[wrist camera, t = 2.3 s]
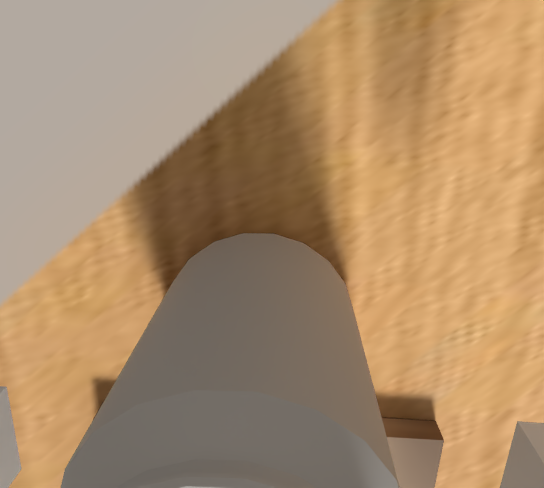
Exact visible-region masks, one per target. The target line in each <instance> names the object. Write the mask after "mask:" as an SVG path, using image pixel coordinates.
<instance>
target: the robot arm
mask: <svg viewBox="0 0 544 488" xmlns="http://www.w3.org/2000/svg"><path fill="white" fill-rule="evenodd" d="M20 470H21V464H20V458H19V453H18V447H17V442H16V436H15V431H14V425H13V420H12V414H11V409H10V403H9V398H8V392H7V387H2V386H0V488H8V487H9V486H10V484H11V483H12V482H13V480H14V479H15V477H16V476H17V474H18V473H19V472H20ZM500 488H544V423H534V422H519V421H517V425H516V429H515V432H514V436H513V440H512V444H511V448H510V451H509V455H508V459H507V463H506V466H505V470H504V474H503V478H502V482H501V485H500Z"/></svg>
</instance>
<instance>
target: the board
mask: <svg viewBox="0 0 544 488" xmlns="http://www.w3.org/2000/svg"><path fill="white" fill-rule="evenodd" d="M102 404H103V403H102ZM101 406H102V405H101ZM98 411H99V410H98ZM97 413H98V412H97ZM94 418H95V417H94ZM93 420H94V419H93ZM382 421H383V425H384V429H385V432H386V436H387V440H388V444H389V448H390V451H391V455H392V459H393V463H394V467H395V470H396V474H397V478H398V482H399V486H400V488H434V487H435V482H436V477H437V472H438V467H439V462H440V457H441V452H442V447H443V442H444V440H443V437H442V435H441V432H440V430H439V428H438V425H437V423H436V421H427V420H410V419H393V418H382Z"/></svg>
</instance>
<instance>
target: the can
mask: <svg viewBox="0 0 544 488" xmlns="http://www.w3.org/2000/svg"><path fill="white" fill-rule="evenodd" d="M61 488H400V486H399V482H398V478H397V474H396V470H395V467H394V463H393V459H392V455H391V451H390V448H389V444H388V440H387V436H386V432H385V429H384V425H383V421H382V417H381V413H380V410H379V406H378V402H377V398H376V394H375V391H374V387H373V383H372V379H371V375H370V371H369V368H368V364H367V360H366V356H365V352H364V349H363V345H362V341H361V337H360V333H359V330H358V326H357V322H356V318H355V314H354V311H353V307H352V304H351V300H350V297H349V294H348V290H347V287H346V284H345V283H344V281H343V280H342V278H341V277H340V276H339V274H338V273H337V272H336V270H335V269H334V267H333V266H332V265H331V263H330V262H329V261H328V260H327V259H325V258H324V257H323V256H321V255H320V254H318V253H317V252H316V251H314V250H313V249H311V248H310V247H309V246H307V245H306V244H304V243H302V242H299V241H295V240H292V239H289V238H286V237H283V236H280V235H277V234H264V233H242V234H239V235H235V236H232V237H228V238H225V239H222V240H218V241H215V242H213V243H211V244H210V245H208V246H207V247H206V248H204V249H203V250H201V251H200V252H198V253H197V254H195V255H194V256H193V257H191V258H190V259H189V260H188V261H187V263H186V264H185V266H184V267H183V268H182V270H181V271H180V272H179V274H178V275H177V277H176V278H175V279H174V281H173V282H172V284H171V286H170V288H169V289H168V291H167V293H166V295H165V296H164V298H163V300H162V302H161V303H160V305H159V307H158V309H157V310H156V312H155V314H154V315H153V317H152V319H151V321H150V322H149V324H148V326H147V328H146V329H145V331H144V333H143V335H142V336H141V338H140V340H139V342H138V343H137V345H136V347H135V348H134V350H133V352H132V354H131V355H130V357H129V359H128V361H127V362H126V364H125V366H124V368H123V369H122V371H121V373H120V375H119V376H118V378H117V380H116V381H115V383H114V385H113V387H112V388H111V390H110V392H109V394H108V395H107V397H106V399H105V401H104V402H103V404H102V406H101V407H100V409H99V411H98V413H97V414H96V416H95V418H94V420H93V421H92V423H91V425H90V427H89V428H88V430H87V432H86V434H85V435H84V437H83V439H82V440H81V442H80V444H79V446H78V447H77V449H76V451H75V453H74V454H73V456H72V458H71V460H70V461H69V463H68V465H67V467H66V468H65V472H64V476H63V480H62V485H61Z"/></svg>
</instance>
